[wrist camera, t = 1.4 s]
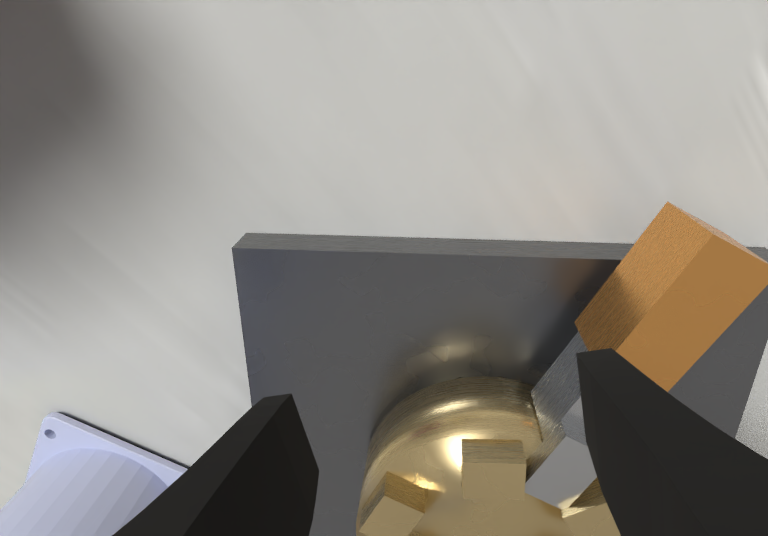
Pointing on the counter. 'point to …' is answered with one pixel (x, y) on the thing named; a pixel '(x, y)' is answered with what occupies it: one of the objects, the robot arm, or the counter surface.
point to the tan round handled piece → (553, 401)
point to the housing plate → (433, 333)
